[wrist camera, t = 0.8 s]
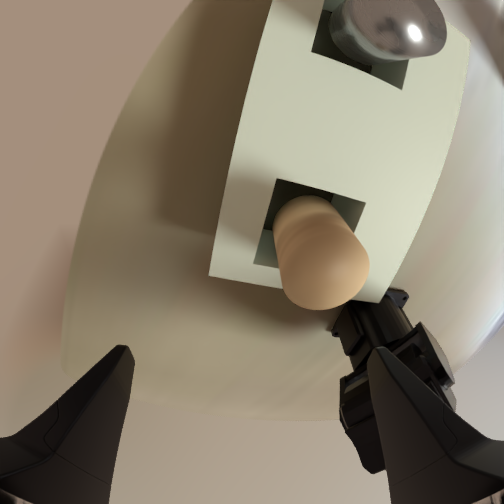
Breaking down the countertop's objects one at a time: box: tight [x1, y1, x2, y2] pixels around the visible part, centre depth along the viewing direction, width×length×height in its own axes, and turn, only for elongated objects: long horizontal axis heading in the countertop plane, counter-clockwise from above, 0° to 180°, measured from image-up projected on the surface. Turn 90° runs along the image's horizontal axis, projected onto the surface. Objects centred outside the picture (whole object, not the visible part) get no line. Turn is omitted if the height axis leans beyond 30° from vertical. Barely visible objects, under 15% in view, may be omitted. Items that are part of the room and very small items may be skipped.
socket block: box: [208, 0, 470, 303], centre depth 14 cm, size 12×20×5 cm, turn 167°
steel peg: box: [329, 0, 447, 65], centre depth 8 cm, size 4×4×5 cm
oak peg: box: [273, 195, 370, 310], centre depth 13 cm, size 4×4×5 cm
